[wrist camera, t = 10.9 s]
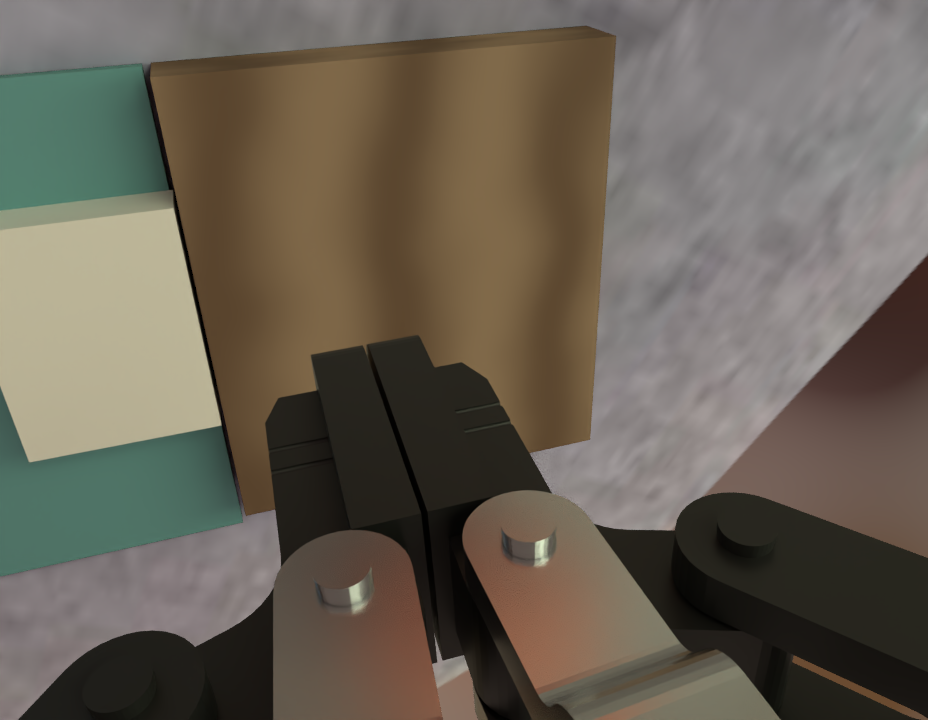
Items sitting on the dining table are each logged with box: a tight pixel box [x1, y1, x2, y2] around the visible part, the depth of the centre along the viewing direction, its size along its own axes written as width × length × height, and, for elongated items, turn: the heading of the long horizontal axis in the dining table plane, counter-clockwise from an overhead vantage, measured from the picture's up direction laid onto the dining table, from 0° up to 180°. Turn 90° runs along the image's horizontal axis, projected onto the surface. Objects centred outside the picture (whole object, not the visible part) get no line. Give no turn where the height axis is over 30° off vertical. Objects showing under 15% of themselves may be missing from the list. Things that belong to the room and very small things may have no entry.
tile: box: [0, 190, 221, 462], centre depth 30 cm, size 7×9×2 cm
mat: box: [0, 64, 243, 576], centre depth 31 cm, size 11×20×1 cm, turn 2°
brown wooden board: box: [150, 26, 616, 516], centre depth 33 cm, size 16×18×2 cm
